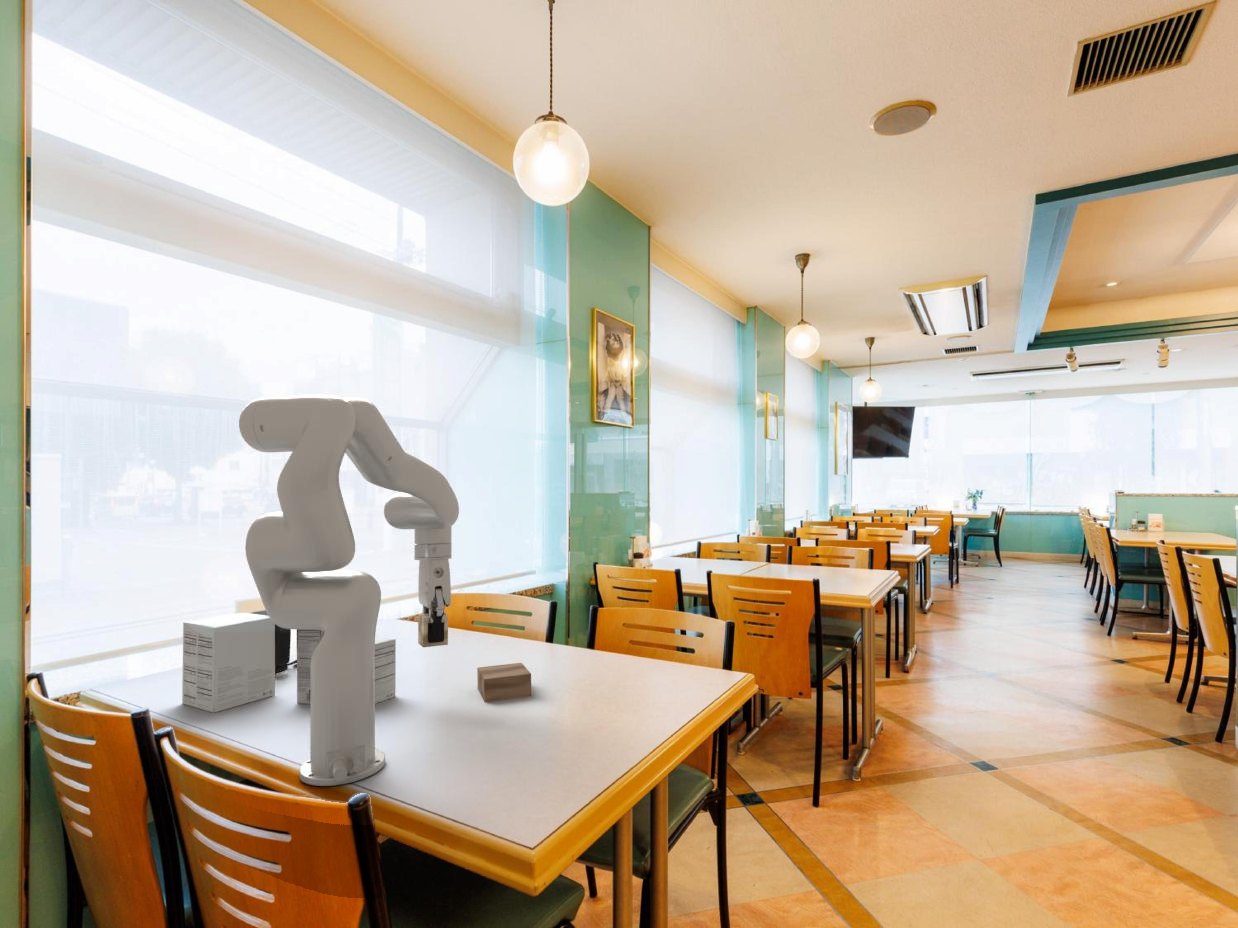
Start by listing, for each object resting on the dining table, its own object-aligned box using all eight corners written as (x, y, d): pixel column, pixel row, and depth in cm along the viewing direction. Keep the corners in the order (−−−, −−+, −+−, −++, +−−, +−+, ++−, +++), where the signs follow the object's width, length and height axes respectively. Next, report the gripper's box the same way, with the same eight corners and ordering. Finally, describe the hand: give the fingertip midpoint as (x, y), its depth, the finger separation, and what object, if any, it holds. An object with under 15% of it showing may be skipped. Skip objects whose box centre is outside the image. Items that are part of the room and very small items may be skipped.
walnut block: (531, 697, 139) (531, 673, 139) (484, 703, 135) (484, 679, 135) (521, 684, 148) (521, 662, 148) (477, 690, 144) (477, 667, 145)
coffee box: (323, 690, 146) (323, 618, 146) (349, 691, 144) (348, 619, 145) (295, 703, 137) (295, 627, 137) (322, 705, 135) (322, 627, 136)
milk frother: (237, 674, 161) (237, 614, 162) (287, 658, 176) (287, 603, 177) (282, 677, 157) (282, 616, 157) (329, 661, 172) (329, 605, 172)
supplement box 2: (345, 701, 137) (345, 642, 138) (373, 692, 144) (372, 634, 144) (369, 706, 134) (369, 645, 134) (397, 696, 140) (396, 637, 141)
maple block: (447, 644, 133) (448, 615, 134) (423, 647, 131) (423, 617, 131) (442, 640, 138) (442, 612, 138) (418, 643, 135) (418, 614, 136)
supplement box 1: (243, 687, 150) (243, 611, 150) (276, 695, 143) (276, 615, 144) (180, 703, 138) (181, 621, 139) (213, 713, 132) (213, 627, 132)
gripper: (461, 553, 130) (461, 644, 129) (441, 549, 145) (441, 631, 144) (423, 555, 126) (423, 649, 125) (407, 550, 141) (406, 635, 140)
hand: (432, 638), depth 134 cm, fingers closed on maple block, 5 cm apart
